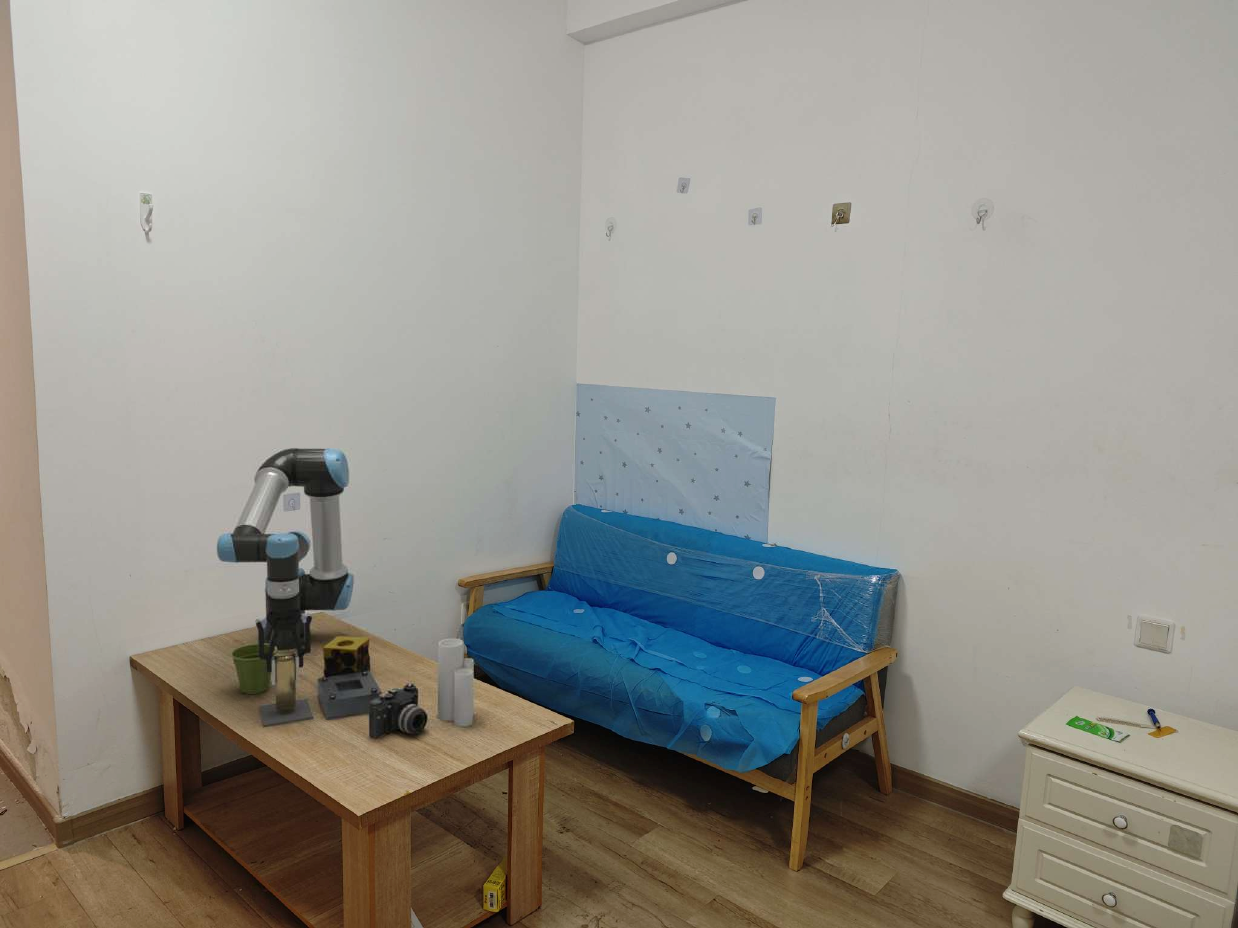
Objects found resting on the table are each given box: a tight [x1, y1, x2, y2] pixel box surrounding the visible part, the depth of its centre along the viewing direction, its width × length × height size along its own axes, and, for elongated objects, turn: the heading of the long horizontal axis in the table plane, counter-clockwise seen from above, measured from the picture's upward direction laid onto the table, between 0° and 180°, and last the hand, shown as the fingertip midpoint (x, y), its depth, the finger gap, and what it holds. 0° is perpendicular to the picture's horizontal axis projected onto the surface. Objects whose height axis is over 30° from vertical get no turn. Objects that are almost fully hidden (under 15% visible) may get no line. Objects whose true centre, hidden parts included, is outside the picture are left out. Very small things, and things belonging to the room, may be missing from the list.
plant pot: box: [229, 642, 278, 695], centre depth 228 cm, size 12×12×11 cm
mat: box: [258, 698, 314, 728], centre depth 215 cm, size 12×12×1 cm
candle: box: [322, 635, 371, 677], centre depth 240 cm, size 10×10×10 cm
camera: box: [368, 683, 428, 740], centre depth 207 cm, size 14×11×10 cm
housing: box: [316, 670, 383, 720], centre depth 222 cm, size 16×14×6 cm
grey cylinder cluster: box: [437, 638, 475, 728], centre depth 215 cm, size 11×7×20 cm, turn 59°
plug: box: [274, 650, 297, 710], centre depth 213 cm, size 5×5×14 cm
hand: (285, 680), depth 213 cm, fingers closed on plug, 5 cm apart
